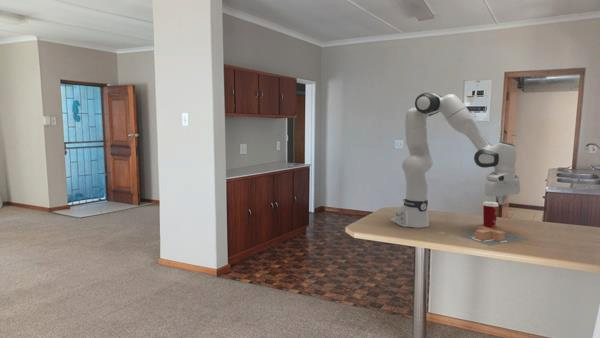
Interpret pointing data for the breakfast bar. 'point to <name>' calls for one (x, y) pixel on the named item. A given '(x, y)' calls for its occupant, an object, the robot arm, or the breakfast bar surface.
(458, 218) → the breakfast bar surface
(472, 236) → the board
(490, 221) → the paper cup
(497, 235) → the t block
